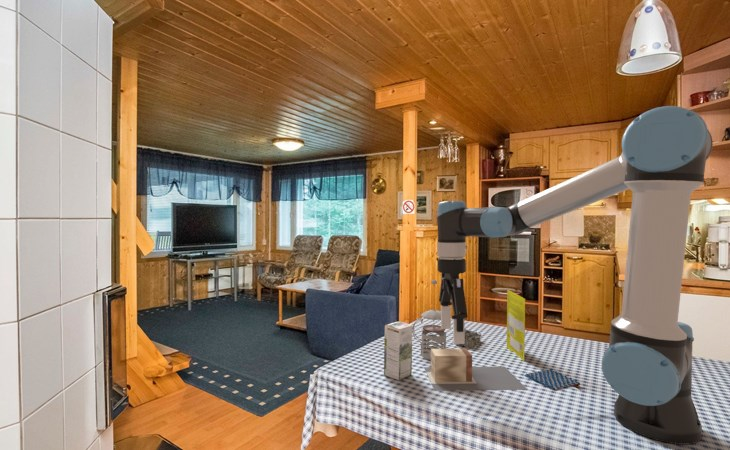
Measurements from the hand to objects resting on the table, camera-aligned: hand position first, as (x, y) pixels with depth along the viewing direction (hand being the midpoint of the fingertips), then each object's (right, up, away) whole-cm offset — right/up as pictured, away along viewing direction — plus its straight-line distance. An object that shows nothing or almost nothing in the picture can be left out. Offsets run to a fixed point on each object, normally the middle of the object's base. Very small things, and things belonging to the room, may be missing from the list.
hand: (452, 335), depth 105 cm
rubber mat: (+6, -13, +1) cm, 14 cm away
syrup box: (-14, -13, +4) cm, 20 cm away
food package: (+25, -12, +20) cm, 35 cm away
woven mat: (+27, -13, -1) cm, 30 cm away
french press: (-3, -12, +17) cm, 22 cm away
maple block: (0, -12, 0) cm, 12 cm away
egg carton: (+13, -12, +32) cm, 37 cm away
